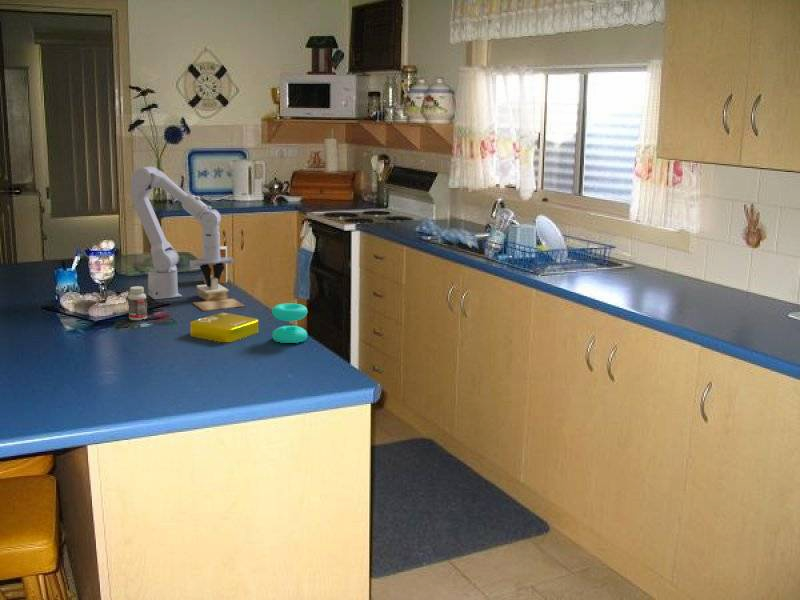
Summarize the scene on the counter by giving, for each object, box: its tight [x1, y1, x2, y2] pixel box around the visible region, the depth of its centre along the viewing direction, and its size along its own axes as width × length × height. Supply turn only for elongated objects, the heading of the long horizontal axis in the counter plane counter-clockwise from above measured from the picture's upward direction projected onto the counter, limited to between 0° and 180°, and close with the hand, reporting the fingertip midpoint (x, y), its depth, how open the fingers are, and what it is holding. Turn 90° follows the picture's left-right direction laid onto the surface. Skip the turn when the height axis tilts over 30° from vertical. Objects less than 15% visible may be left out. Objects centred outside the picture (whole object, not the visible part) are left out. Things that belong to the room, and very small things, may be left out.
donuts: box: [271, 302, 308, 344], centre depth 240 cm, size 10×10×10 cm
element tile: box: [189, 311, 260, 343], centre depth 245 cm, size 15×15×5 cm
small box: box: [203, 245, 228, 285], centre depth 309 cm, size 8×6×13 cm
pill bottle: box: [127, 285, 148, 321], centre depth 258 cm, size 5×5×10 cm
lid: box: [196, 276, 230, 294], centre depth 286 cm, size 8×11×5 cm
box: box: [197, 288, 229, 301], centre depth 287 cm, size 7×10×3 cm
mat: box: [192, 297, 246, 312], centre depth 277 cm, size 14×11×1 cm
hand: (212, 285), depth 286 cm, fingers closed on lid
